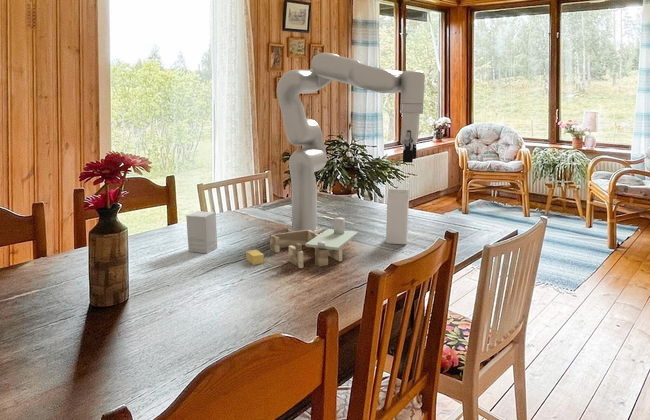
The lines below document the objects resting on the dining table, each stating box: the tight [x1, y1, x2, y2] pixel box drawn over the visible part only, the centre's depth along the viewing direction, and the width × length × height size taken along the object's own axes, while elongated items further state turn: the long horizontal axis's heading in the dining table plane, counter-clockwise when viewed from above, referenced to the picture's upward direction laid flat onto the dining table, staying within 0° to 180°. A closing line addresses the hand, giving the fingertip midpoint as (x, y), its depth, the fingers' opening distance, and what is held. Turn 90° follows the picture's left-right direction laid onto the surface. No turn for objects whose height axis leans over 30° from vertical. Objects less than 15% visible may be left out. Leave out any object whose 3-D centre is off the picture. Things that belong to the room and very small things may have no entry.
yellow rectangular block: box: [245, 249, 265, 265], centre depth 175 cm, size 6×4×3 cm, turn 29°
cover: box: [304, 217, 359, 250], centre depth 179 cm, size 21×11×6 cm, turn 158°
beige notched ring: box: [269, 229, 343, 269], centre depth 181 cm, size 25×15×7 cm, turn 29°
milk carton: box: [385, 188, 410, 245], centre depth 195 cm, size 7×7×19 cm
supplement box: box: [185, 210, 218, 254], centre depth 186 cm, size 7×7×13 cm
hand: (409, 160), depth 186 cm, fingers open, 9 cm apart
